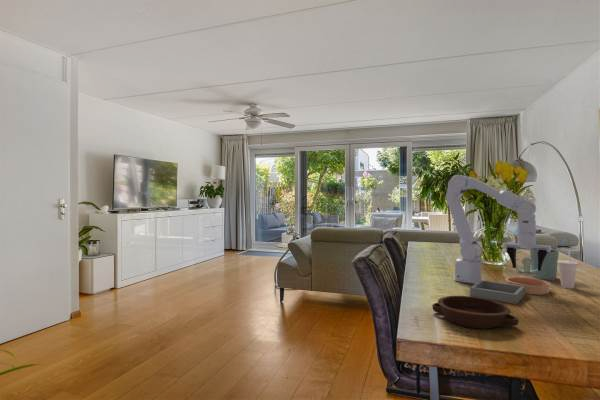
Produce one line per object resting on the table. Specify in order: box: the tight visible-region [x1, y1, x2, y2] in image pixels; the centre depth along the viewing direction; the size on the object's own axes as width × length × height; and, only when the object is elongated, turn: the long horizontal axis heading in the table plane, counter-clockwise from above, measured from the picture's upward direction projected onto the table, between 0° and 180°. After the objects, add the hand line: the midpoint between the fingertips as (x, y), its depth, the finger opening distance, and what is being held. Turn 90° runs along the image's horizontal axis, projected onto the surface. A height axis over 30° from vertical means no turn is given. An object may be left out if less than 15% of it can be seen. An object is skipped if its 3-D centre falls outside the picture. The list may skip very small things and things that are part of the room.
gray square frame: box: [469, 279, 526, 305], centre depth 121 cm, size 14×14×3 cm
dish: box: [431, 295, 520, 330], centre depth 97 cm, size 18×22×5 cm
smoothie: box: [557, 250, 579, 290], centre depth 130 cm, size 6×6×14 cm
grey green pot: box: [529, 248, 560, 281], centre depth 146 cm, size 10×10×12 cm
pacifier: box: [514, 257, 538, 277], centre depth 128 cm, size 7×6×6 cm
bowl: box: [504, 276, 551, 295], centre depth 128 cm, size 14×14×3 cm
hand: (526, 268), depth 128 cm, fingers closed on pacifier, 7 cm apart
